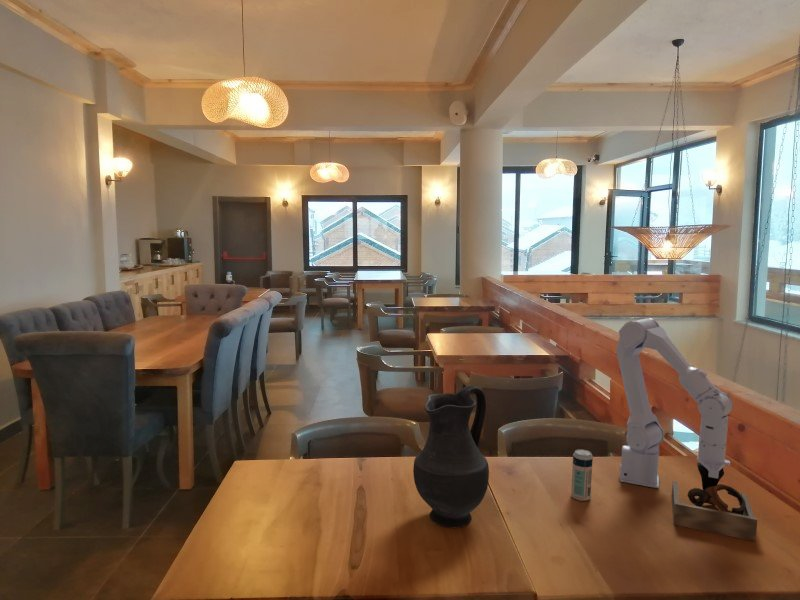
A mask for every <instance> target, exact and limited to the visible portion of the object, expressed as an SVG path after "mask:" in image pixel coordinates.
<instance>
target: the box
mask: <svg viewBox="0 0 800 600" xmlns="http://www.w3.org/2000/svg"><path fill="white" fill-rule="evenodd" d="M671 485H672V488H671V505H672V518H673V526H679V527H684V528H689V529H694V530H697V531H704V532H707V531H708V532H707V533H713V534H718V535H723V536H727V537H732V538H737V539H741V540H746V541H750V542H756V538H757V529H758V528H757V527H758V518H757V517H755V515H754V512H753V510H752V505H751V503H750V500H749V498H748V495H747V493H743V492H742V493H740V494H741V496H742V497H743V498H744V500H745V503H746V507H745V509H744V513H743V515H740V514H734V513H729V512H724V511H721V510H720V509H719V510H718V509H712V508H707V507H704V506H702V507H698V506H696V505H694V504H693V505H692V504H687V503H682V502H680V497H679V496H680V495H679V488H678V487H679V486H678V481H675V480H673V481H672V484H671ZM740 507H741V506H740V505H739V508H740Z"/></svg>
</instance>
